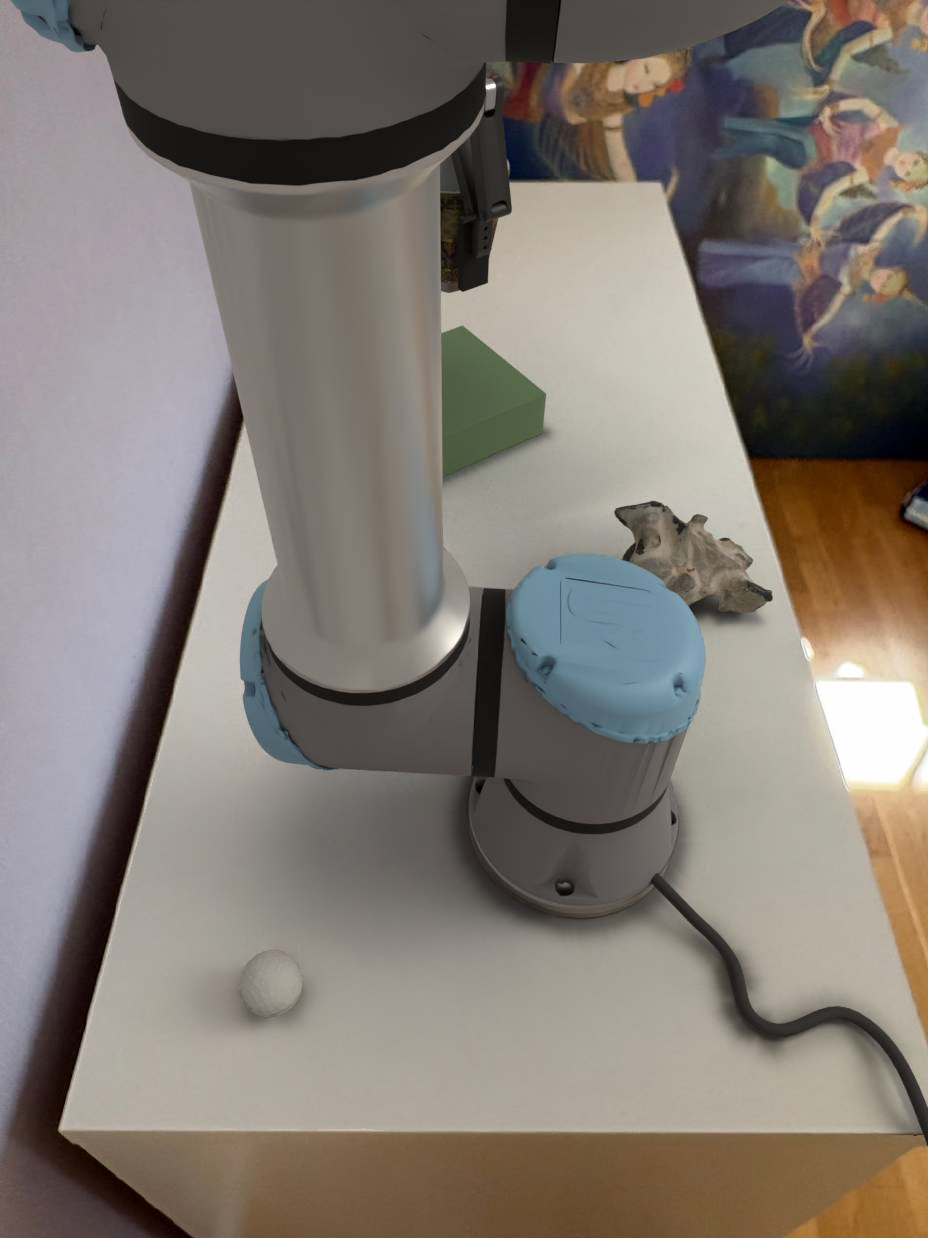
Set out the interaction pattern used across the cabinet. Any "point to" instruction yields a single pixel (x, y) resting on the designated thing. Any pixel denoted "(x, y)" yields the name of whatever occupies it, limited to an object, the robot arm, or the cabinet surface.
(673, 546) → the decorative stone
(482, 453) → the green block
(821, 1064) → the cabinet surface
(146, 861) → the cabinet surface
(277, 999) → the golf ball
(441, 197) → the ceramic cup
